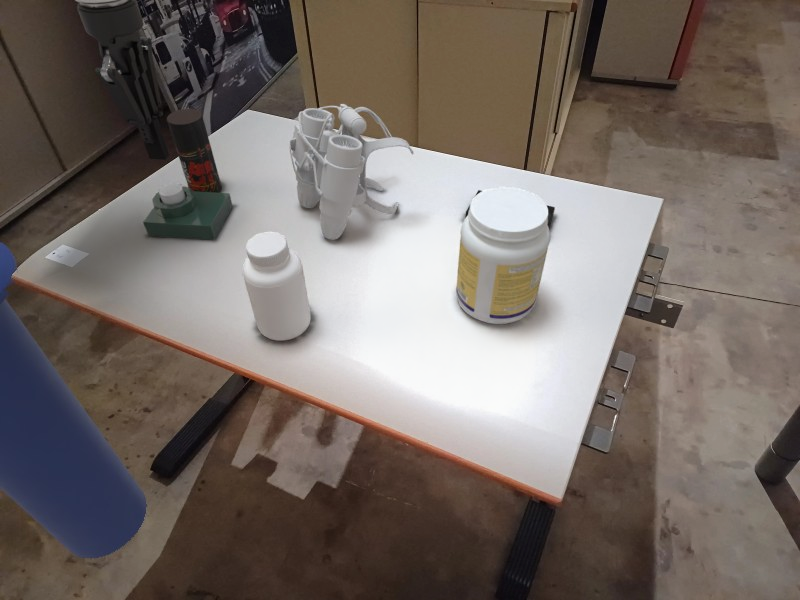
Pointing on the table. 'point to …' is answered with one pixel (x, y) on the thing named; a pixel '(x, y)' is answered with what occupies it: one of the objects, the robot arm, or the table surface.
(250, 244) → the pill bottle
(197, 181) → the deodorant
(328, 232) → the rocket backpack
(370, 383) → the table surface
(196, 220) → the button base
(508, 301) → the supplement tub
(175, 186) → the white button cap
